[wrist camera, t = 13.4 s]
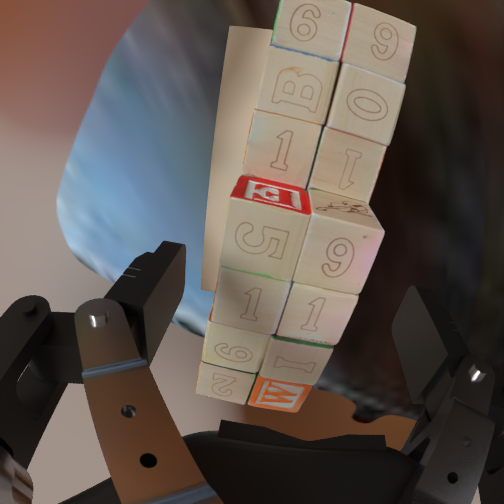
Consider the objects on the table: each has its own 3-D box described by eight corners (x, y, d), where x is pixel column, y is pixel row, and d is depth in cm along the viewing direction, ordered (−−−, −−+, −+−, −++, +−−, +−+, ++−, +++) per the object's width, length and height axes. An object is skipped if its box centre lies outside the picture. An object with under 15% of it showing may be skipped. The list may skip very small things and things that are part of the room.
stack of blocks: (284, 25, 18) (283, -46, 7) (371, 50, 18) (453, 14, 7) (226, 283, 28) (192, 396, 17) (296, 299, 28) (296, 417, 17)
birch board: (388, 61, 20) (396, 58, 18) (329, 298, 30) (331, 311, 28) (234, 31, 20) (229, 25, 18) (205, 277, 30) (200, 289, 28)
